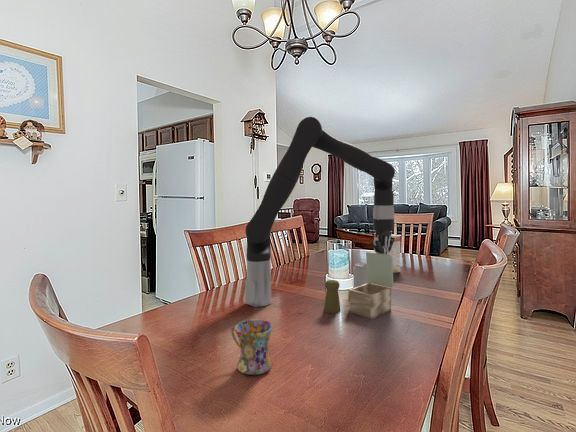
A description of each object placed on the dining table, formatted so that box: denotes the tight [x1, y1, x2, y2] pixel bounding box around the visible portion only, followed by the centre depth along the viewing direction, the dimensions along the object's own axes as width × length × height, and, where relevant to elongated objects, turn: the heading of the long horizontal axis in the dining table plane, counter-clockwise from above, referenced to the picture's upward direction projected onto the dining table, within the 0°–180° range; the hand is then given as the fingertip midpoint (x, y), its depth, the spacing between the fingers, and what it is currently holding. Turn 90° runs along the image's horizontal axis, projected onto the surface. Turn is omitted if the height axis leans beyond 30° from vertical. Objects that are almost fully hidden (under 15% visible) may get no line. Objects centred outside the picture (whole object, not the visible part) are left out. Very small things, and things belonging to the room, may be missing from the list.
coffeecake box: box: [373, 232, 402, 274], centre depth 182 cm, size 15×7×20 cm, turn 17°
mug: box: [230, 318, 274, 376], centre depth 83 cm, size 12×9×11 cm
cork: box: [323, 279, 342, 314], centre depth 122 cm, size 6×6×11 cm
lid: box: [365, 250, 394, 289], centre depth 124 cm, size 12×10×1 cm
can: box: [352, 262, 372, 288], centre depth 143 cm, size 8×8×12 cm
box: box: [347, 283, 392, 320], centre depth 121 cm, size 12×10×8 cm
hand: (383, 263), depth 126 cm, fingers closed
